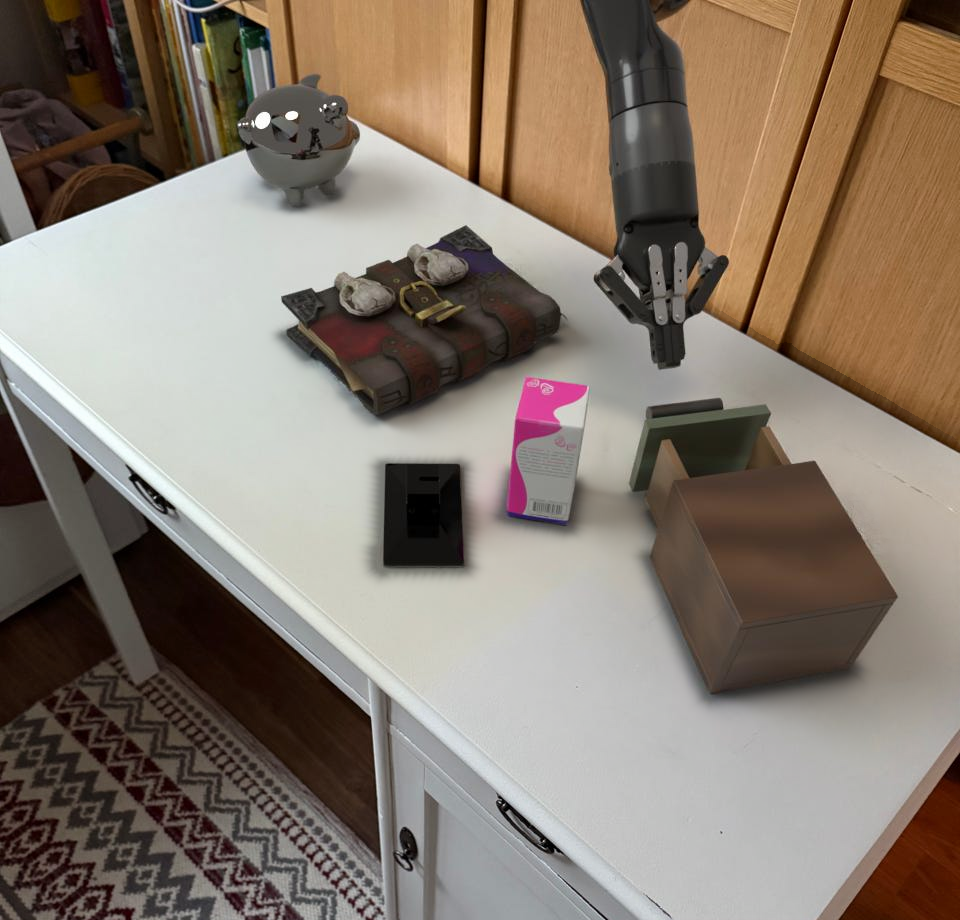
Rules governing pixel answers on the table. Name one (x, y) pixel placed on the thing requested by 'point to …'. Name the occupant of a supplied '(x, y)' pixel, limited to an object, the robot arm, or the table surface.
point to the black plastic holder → (422, 516)
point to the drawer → (700, 446)
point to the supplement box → (546, 449)
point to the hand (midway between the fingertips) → (669, 367)
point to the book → (421, 320)
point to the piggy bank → (299, 137)
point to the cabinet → (767, 575)
